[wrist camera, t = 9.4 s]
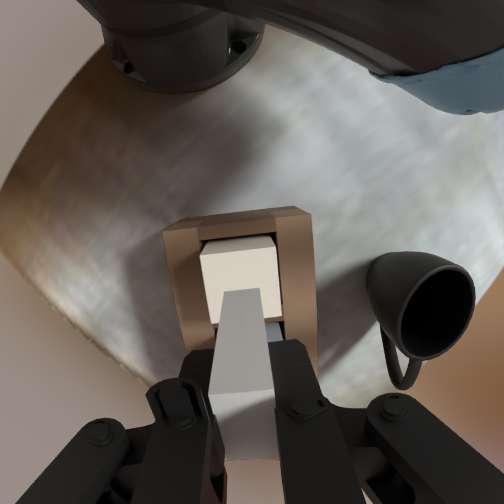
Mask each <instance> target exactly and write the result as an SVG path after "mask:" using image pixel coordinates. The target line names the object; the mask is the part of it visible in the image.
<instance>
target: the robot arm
mask: <svg viewBox="0 0 504 504" xmlns="http://www.w3.org/2000/svg"><path fill="white" fill-rule="evenodd" d="M77 1H78V2H79V3H80V4H81V5H82V6H83V7H84V8H85V9H86V10H87V11H88V12H89V13H90V14H91V15H92V16H93V17H94V18H95V19H96V20H97V21H98V22H99V23H100V24H101V27H102V32H103V37H104V42H105V47H106V51H107V54H108V56H109V58H110V60H111V62H112V64H113V65H114V67H115V68H116V69H117V70H118V71H119V72H120V73H121V74H122V75H123V76H125V77H126V78H127V79H128V80H129V81H131V82H132V83H134V84H135V85H137V86H139V87H141V88H143V89H146V90H149V91H153V92H157V93H165V94H180V93H189V92H194V91H198V90H202V89H205V88H208V87H211V86H214V85H216V84H218V83H220V82H222V81H224V80H226V79H228V78H229V77H231V76H232V75H234V74H235V73H237V72H238V71H239V70H240V69H242V68H243V67H244V66H245V65H246V64H247V63H248V62H249V61H250V59H251V58H252V57H253V56H254V54H255V53H256V51H257V50H258V48H259V46H260V44H261V41H262V38H263V34H264V28H265V24H268V25H271V26H273V27H276V28H279V29H282V30H284V31H287V32H290V33H292V34H295V35H297V36H300V37H302V38H305V39H307V40H309V41H312V42H314V43H316V44H319V45H321V46H323V47H325V48H327V49H329V50H332V51H334V52H336V53H338V54H340V55H342V56H344V57H346V58H348V59H350V60H352V61H354V62H356V63H357V64H359V65H361V66H363V67H365V68H367V69H368V70H369V73H370V74H371V75H372V76H374V77H375V78H376V79H378V80H380V81H383V82H386V83H393V84H395V85H397V86H399V87H400V88H402V89H404V90H406V91H407V92H409V93H411V94H412V95H414V96H415V97H417V98H419V99H420V100H422V101H423V102H425V103H427V104H428V105H430V106H432V107H434V108H436V109H438V110H441V111H444V112H447V113H451V114H457V115H473V114H476V113H478V112H483V113H487V114H488V113H494V112H498V111H502V110H504V0H77ZM146 398H147V400H148V402H149V405H150V407H151V410H152V412H153V415H154V417H155V423H153V424H151V425H147V426H143V427H138V428H132V429H126V430H125V428H124V427H123V425H122V424H121V423H120V422H119V421H117V420H115V419H111V418H100V419H96V420H93V421H91V422H89V423H87V424H86V425H85V426H84V427H82V428H81V430H80V431H79V432H78V433H77V434H76V435H75V436H74V438H73V439H72V440H71V441H70V442H69V443H68V444H67V445H66V446H65V448H64V449H63V450H62V451H61V452H60V453H59V454H58V456H57V457H56V458H55V459H54V460H53V461H52V462H51V463H50V465H49V466H48V467H47V468H46V469H45V470H44V471H43V473H42V474H41V475H40V476H39V477H38V478H37V479H36V480H35V482H34V483H33V484H32V485H31V486H30V487H29V489H28V490H27V491H26V492H25V493H24V494H23V495H22V496H21V498H20V499H19V500H18V501H17V502H16V503H15V504H226V502H227V501H226V500H227V473H226V469H225V466H224V459H225V455H226V458H227V461H233V460H249V459H262V458H272V457H279V458H280V466H281V476H282V485H283V492H284V500H285V504H366V501H365V498H364V495H363V492H362V489H363V491H364V492H365V493H366V495H367V496H368V498H369V499H370V500H371V502H372V503H373V504H504V474H503V473H502V472H501V471H500V470H499V469H497V468H496V467H495V466H494V465H493V464H492V463H490V462H489V461H488V460H487V459H486V458H484V457H483V456H482V455H481V454H480V453H478V452H477V451H476V450H475V449H474V448H473V447H471V446H470V445H469V444H468V443H466V442H465V441H464V440H463V439H462V438H461V437H459V436H458V435H457V434H456V433H455V432H453V431H452V430H451V429H450V428H449V427H448V426H446V425H445V424H444V423H443V422H442V421H440V420H439V419H438V418H437V417H436V416H435V415H433V414H432V413H431V412H430V411H429V410H427V409H426V408H425V407H424V406H423V405H421V403H419V402H418V401H417V400H416V399H414V398H412V397H411V396H409V395H407V394H402V393H386V394H383V395H380V396H378V397H376V398H375V399H373V400H372V401H371V402H370V404H369V405H368V407H367V408H343V407H339V406H336V405H334V404H332V403H330V401H329V400H328V399H327V398H326V397H324V396H323V394H322V392H321V389H320V386H319V383H318V381H317V378H316V375H315V372H314V369H313V366H312V364H311V361H310V358H309V355H308V352H307V349H306V346H305V345H304V344H303V343H301V342H300V341H299V340H297V339H290V340H282V341H274V342H267V336H266V329H265V322H264V315H263V308H262V301H261V294H260V288H252V289H243V290H234V291H225V292H224V295H223V301H222V307H221V313H220V320H219V326H218V332H217V339H216V345H215V349H201V350H192V351H191V352H190V353H189V354H188V355H187V356H186V357H185V358H184V361H183V364H182V367H181V371H180V374H179V378H171V379H166V380H163V381H161V382H158V383H156V384H155V385H154V386H152V387H151V388H150V389H149V390H148V392H147V393H146ZM361 488H362V489H361Z"/></svg>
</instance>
